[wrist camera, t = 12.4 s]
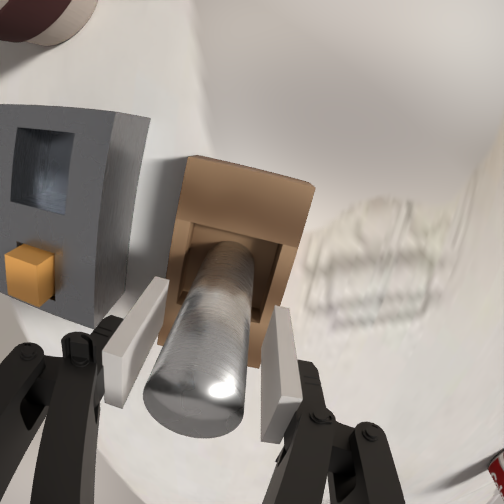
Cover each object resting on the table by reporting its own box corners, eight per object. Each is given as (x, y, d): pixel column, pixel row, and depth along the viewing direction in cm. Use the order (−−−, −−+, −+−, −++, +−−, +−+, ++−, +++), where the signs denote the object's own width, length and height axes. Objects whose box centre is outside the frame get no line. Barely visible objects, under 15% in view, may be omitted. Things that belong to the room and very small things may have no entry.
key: (57, 226, 23) (4, 254, 16) (87, 234, 23) (36, 265, 16) (56, 259, 24) (8, 294, 17) (85, 268, 24) (39, 307, 17)
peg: (210, 235, 23) (145, 356, 10) (259, 247, 23) (255, 384, 10) (200, 280, 24) (141, 423, 11) (247, 292, 24) (232, 445, 11)
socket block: (45, 107, 20) (-2, 104, 15) (150, 118, 21) (116, 111, 15) (32, 262, 25) (-7, 288, 19) (124, 292, 25) (94, 329, 20)
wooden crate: (197, 155, 22) (187, 156, 19) (308, 182, 22) (315, 187, 19) (166, 324, 26) (157, 344, 23) (259, 346, 27) (258, 368, 24)
